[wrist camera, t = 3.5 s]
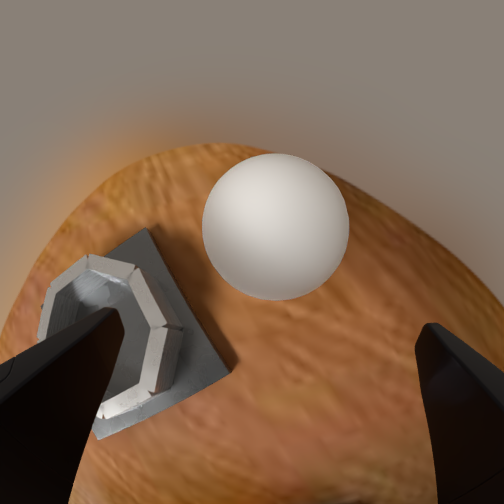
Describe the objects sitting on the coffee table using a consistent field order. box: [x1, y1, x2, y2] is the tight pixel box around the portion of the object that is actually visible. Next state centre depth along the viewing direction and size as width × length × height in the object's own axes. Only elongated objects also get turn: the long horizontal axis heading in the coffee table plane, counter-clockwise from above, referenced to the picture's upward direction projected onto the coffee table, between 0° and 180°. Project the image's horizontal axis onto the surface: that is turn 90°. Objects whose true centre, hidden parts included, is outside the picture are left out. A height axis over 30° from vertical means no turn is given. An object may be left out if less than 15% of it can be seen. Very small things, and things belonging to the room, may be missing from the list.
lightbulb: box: [202, 153, 349, 301], centre depth 14 cm, size 6×6×11 cm
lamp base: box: [37, 227, 232, 440], centre depth 17 cm, size 12×12×4 cm
